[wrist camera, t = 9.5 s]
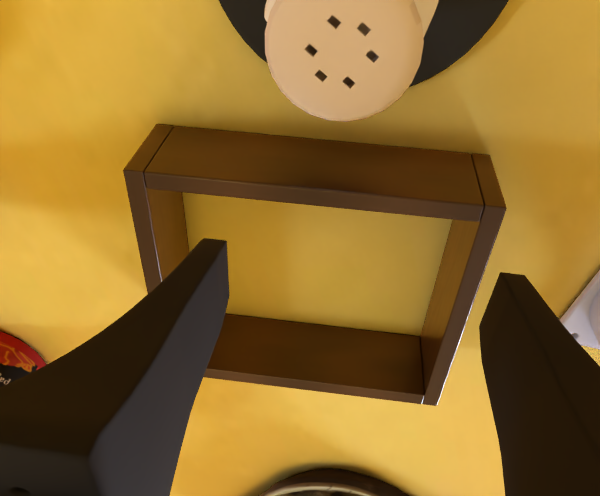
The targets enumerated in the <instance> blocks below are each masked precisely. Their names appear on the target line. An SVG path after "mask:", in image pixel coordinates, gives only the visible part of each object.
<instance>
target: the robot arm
mask: <svg viewBox="0 0 600 496" xmlns="http://www.w3.org/2000/svg"><path fill="white" fill-rule="evenodd" d="M228 299H229V281H228V261H227V241H224V240H216V239H207V238H204V239H202V240H201V241H200V242H199V243H198V244H197V245H196V246H195V248H194V249H193V250H192V251H191V252H190V253H189V254H188V255H187V256H186V257H185V258H184V259H183V261H182V262H181V263H180V264H179V265H178V266H177V267H176V268H175V269H174V270H173V271H172V272H171V273H170V274H169V275H168V276H167V277H166V278H165V279H164V280H163V281H162V282H161V283H160V284H159V285H158V286H157V287H155V288H154V289H153V290H152V291H151V292H150V293H149V294H148V295H147V296H145V297H144V298H143V299H142V300H141V301H140V302H139V303H137V304H136V305H135V306H134V307H133V308H132V309H130V310H129V311H128V312H127V313H125V314H124V315H123V316H122V317H120V318H119V319H118V320H117V321H115V322H114V323H113V324H111V325H110V326H108V327H107V328H106V329H104V330H103V331H102V332H100V333H99V334H97V335H96V336H94V337H93V338H91V339H90V340H88V341H86V342H85V343H83V344H82V345H80V346H79V347H77V348H75V349H74V350H72V351H71V352H69V353H67V354H66V355H64V356H62V357H60V358H58V359H57V360H55V361H53V362H51V363H49V364H47V365H45V366H44V367H42V368H40V369H38V370H36V371H34V372H32V373H30V374H28V375H26V376H24V377H22V378H19V379H17V380H15V381H13V382H11V383H8V384H6V385H4V386H2V387H0V496H169V495H170V491H171V486H172V482H173V478H174V474H175V470H176V466H177V462H178V458H179V454H180V450H181V446H182V442H183V438H184V435H185V431H186V427H187V423H188V420H189V416H190V412H191V409H192V406H193V403H194V400H195V397H196V394H197V392H198V389H199V387H200V384H201V381H202V379H203V376H204V373H205V371H206V368H207V366H208V363H209V360H210V358H211V355H212V352H213V350H214V347H215V344H216V342H217V339H218V336H219V334H220V331H221V328H222V324H223V320H224V316H225V312H226V308H227V303H228ZM479 329H480V346H481V357H482V364H483V369H484V374H485V379H486V384H487V388H488V393H489V398H490V402H491V407H492V411H493V416H494V421H495V425H496V430H497V434H498V439H499V445H500V451H501V457H502V467H503V476H504V486H505V496H600V366H599V365H598V364H597V363H596V362H595V361H594V360H593V359H592V358H591V357H590V355H589V354H588V353H587V352H586V351H585V350H584V349H583V348H582V347H581V345H584V346H588V347H592V348H596V349H600V270H599V271H598V272H597V274H596V275H595V276H594V277H593V279H592V280H591V281H590V282H589V284H588V285H587V286H586V287H585V289H584V290H583V291H582V292H581V294H580V295H579V296H578V297H577V299H576V300H575V301H574V302H573V304H572V305H571V306H570V307H569V309H568V310H567V311H566V312H565V314H564V315H563V316H562V317H561V319H560V320H559V319H558V318H557V317H556V315H555V314H554V313H553V311H552V310H551V309H550V308H549V306H548V305H547V304H546V302H545V301H544V300H543V299H542V297H541V296H540V295H539V293H538V292H537V291H536V289H535V288H534V287H533V285H532V284H531V283H530V282H529V280H528V279H527V278H526V276H525V275H519V274H510V273H502V272H500V274H499V277H498V280H497V282H496V285H495V287H494V290H493V292H492V295H491V298H490V300H489V303H488V305H487V308H486V310H485V313H484V315H483V318H482V321H481V323H480V326H479ZM572 333H574V334H572Z"/></svg>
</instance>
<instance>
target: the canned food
mask: <svg viewBox="0 0 600 496" xmlns="http://www.w3.org/2000/svg"><path fill="white" fill-rule="evenodd" d="M45 365H46V364H45V362H44V361H43V359H42V358H41V357H40V356H39V355H38V353H37V352H36V351H34V350H33V349H32V348H31V347H30V346H28V345H27V344H25V343H24V342H22V341H21V340H19V339H17V338H15V337H13V336H11V335H9V334H6V333H3V332H0V387H2V386H4V385H6V384H8V383H11V382H13V381H15V380H17V379H19V378H22V377H24V376H26V375H28V374H30V373H32V372H34V371H36V370H38V369H40V368H42V367H44V366H45Z"/></svg>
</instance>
